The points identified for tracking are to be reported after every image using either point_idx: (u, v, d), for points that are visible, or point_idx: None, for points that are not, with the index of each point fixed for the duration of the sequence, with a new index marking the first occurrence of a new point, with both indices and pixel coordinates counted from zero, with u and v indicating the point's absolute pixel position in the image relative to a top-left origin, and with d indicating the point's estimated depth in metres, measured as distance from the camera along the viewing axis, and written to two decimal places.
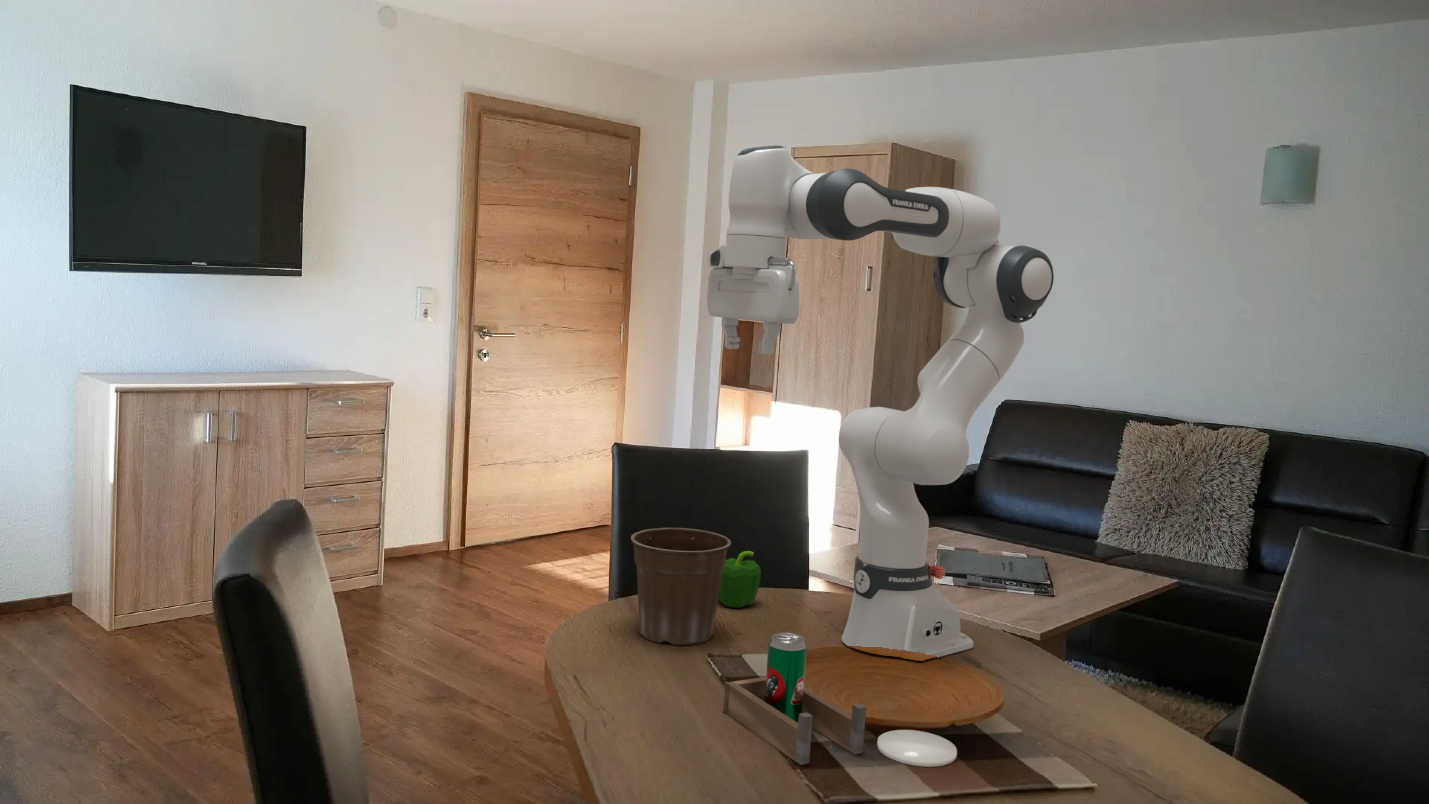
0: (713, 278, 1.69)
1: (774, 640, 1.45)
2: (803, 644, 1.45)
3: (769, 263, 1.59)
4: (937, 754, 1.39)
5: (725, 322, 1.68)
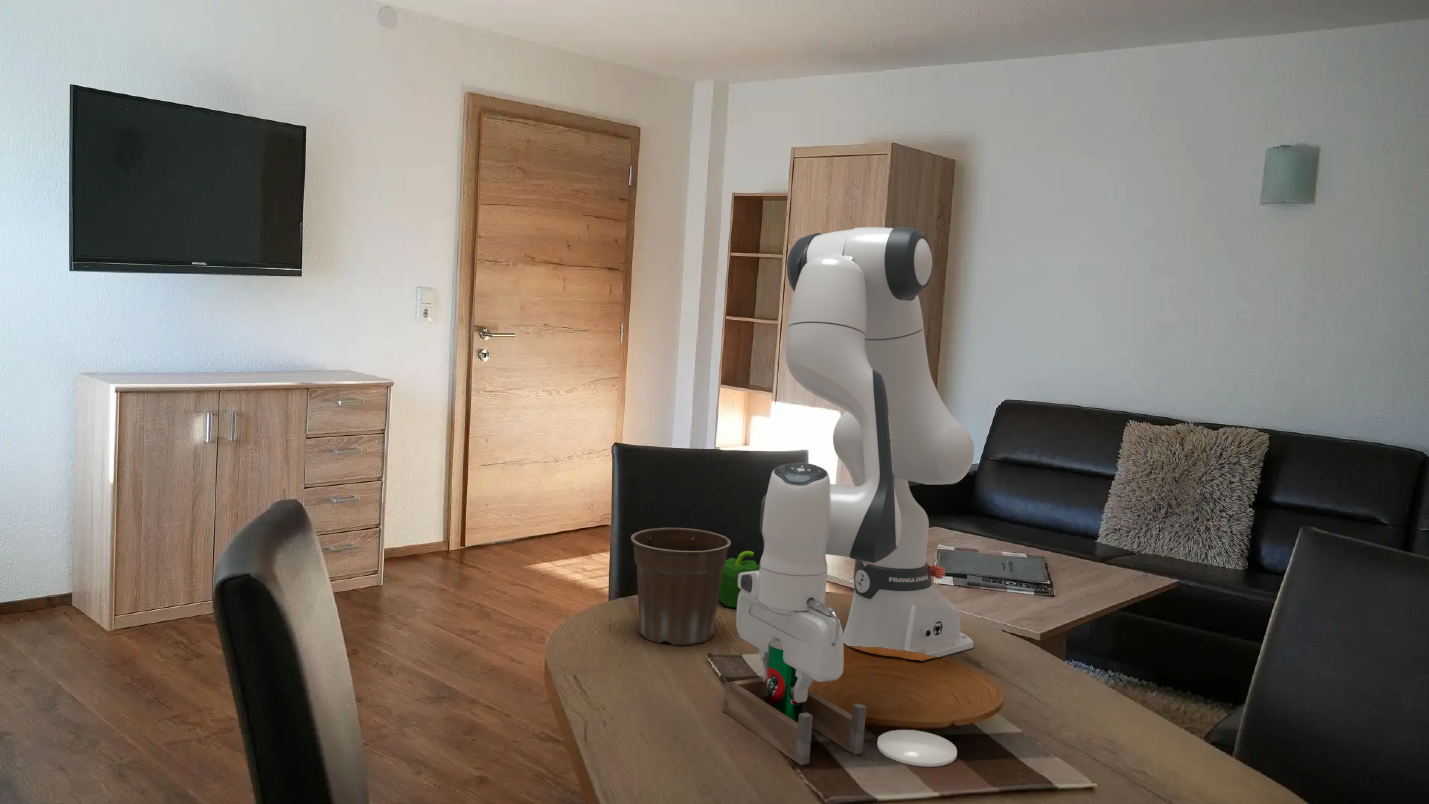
0: (743, 600, 1.51)
1: (774, 640, 1.45)
2: None
3: (809, 606, 1.41)
4: (937, 754, 1.39)
5: (763, 654, 1.49)
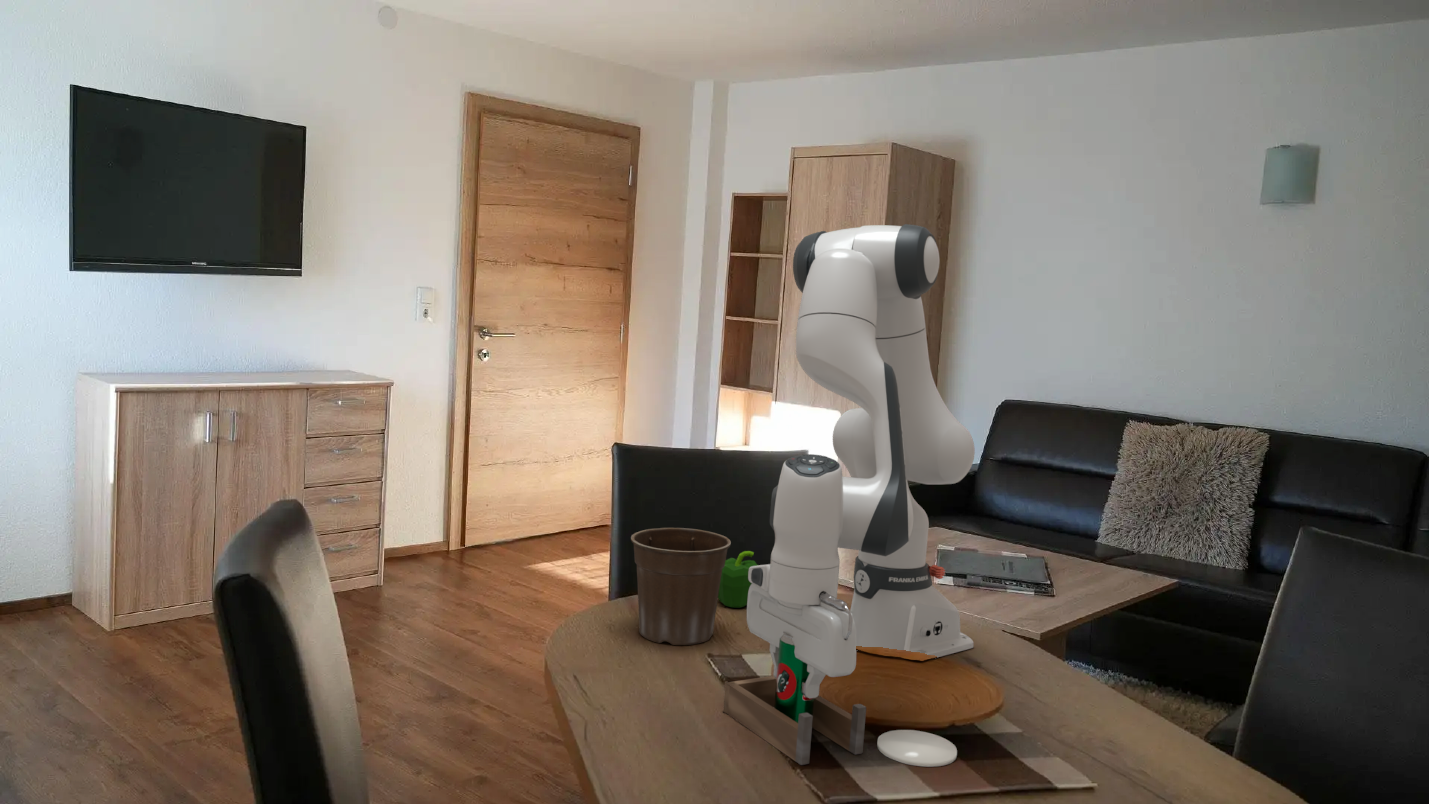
0: (754, 594, 1.48)
1: (785, 635, 1.42)
2: None
3: (821, 600, 1.38)
4: (937, 754, 1.39)
5: (774, 649, 1.46)
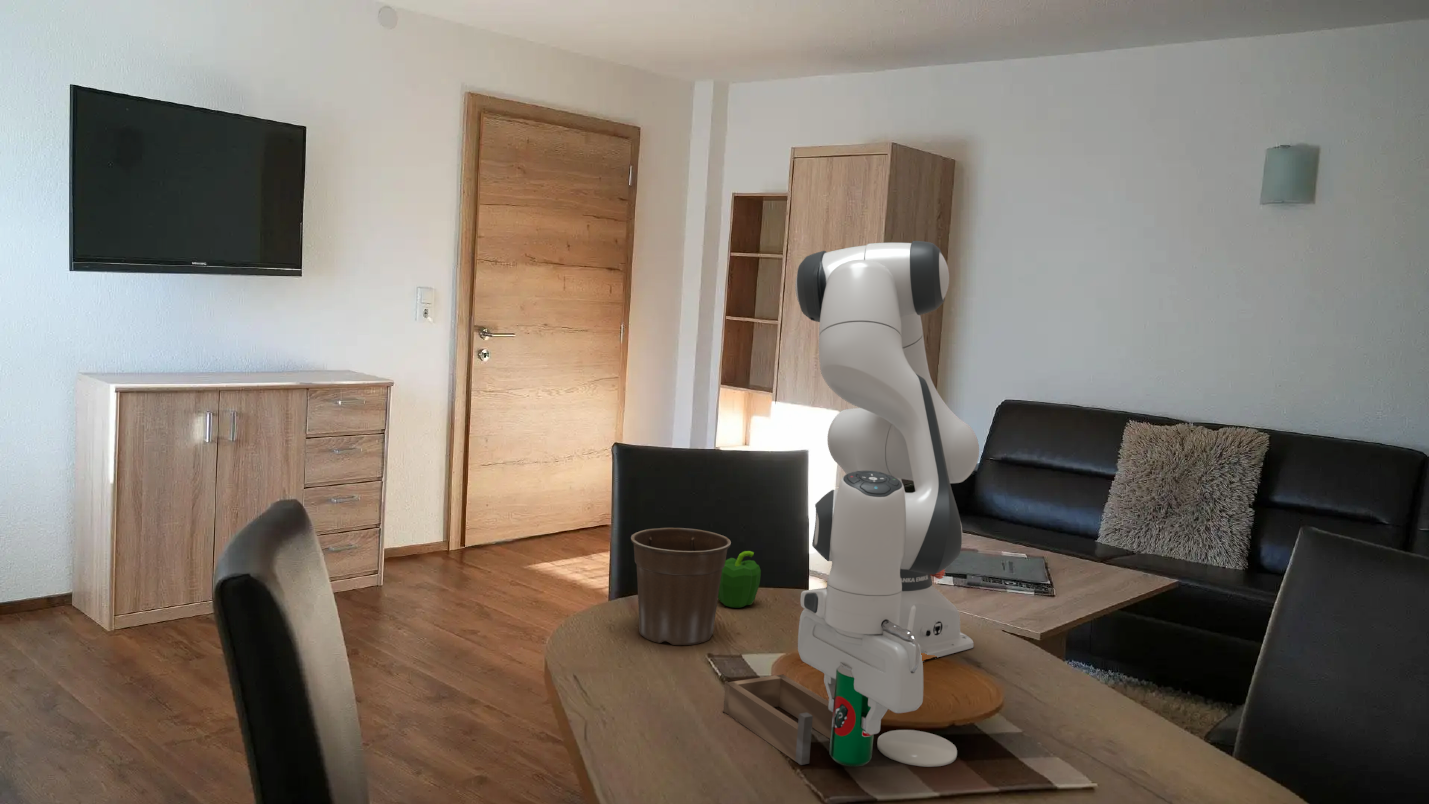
0: (807, 620, 1.38)
1: (843, 666, 1.32)
2: None
3: (883, 628, 1.28)
4: (937, 754, 1.39)
5: (829, 680, 1.36)
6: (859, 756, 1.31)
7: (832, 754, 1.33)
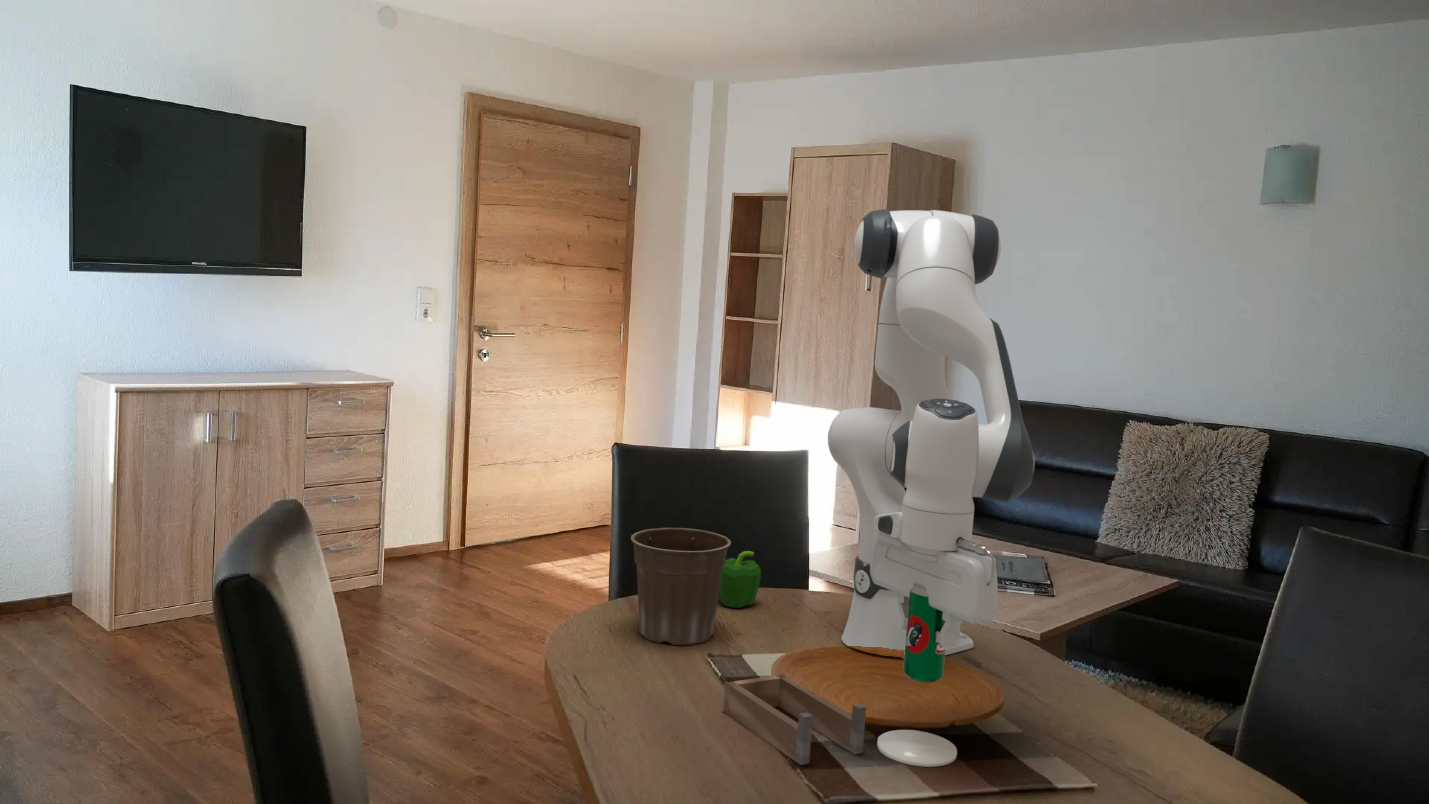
0: (880, 543, 1.45)
1: (917, 587, 1.39)
2: None
3: (958, 545, 1.35)
4: (937, 754, 1.39)
5: (902, 599, 1.43)
6: (933, 672, 1.38)
7: (906, 671, 1.40)
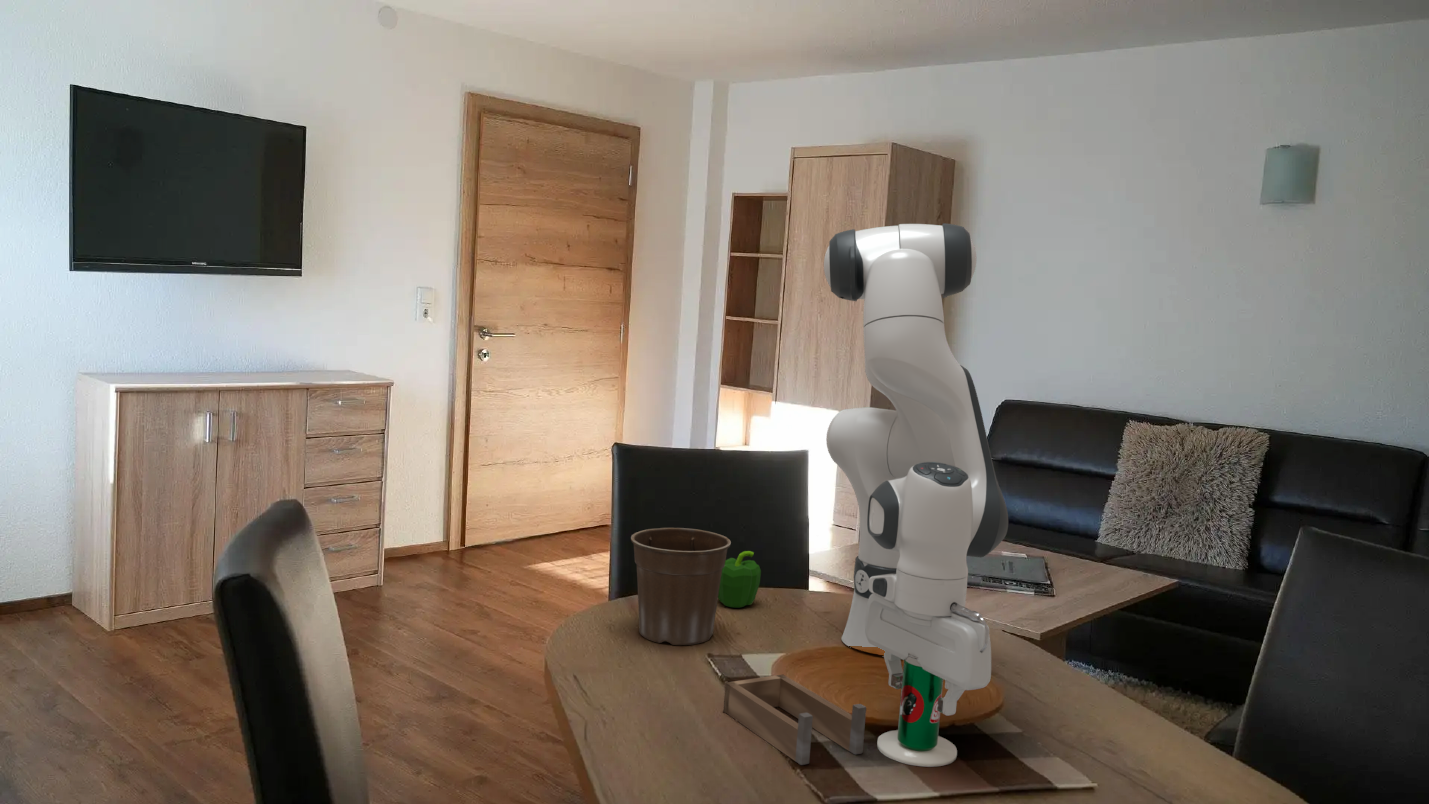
0: (874, 604, 1.46)
1: (911, 656, 1.40)
2: None
3: (952, 611, 1.36)
4: (937, 754, 1.39)
5: (889, 657, 1.45)
6: (927, 741, 1.39)
7: (901, 740, 1.41)
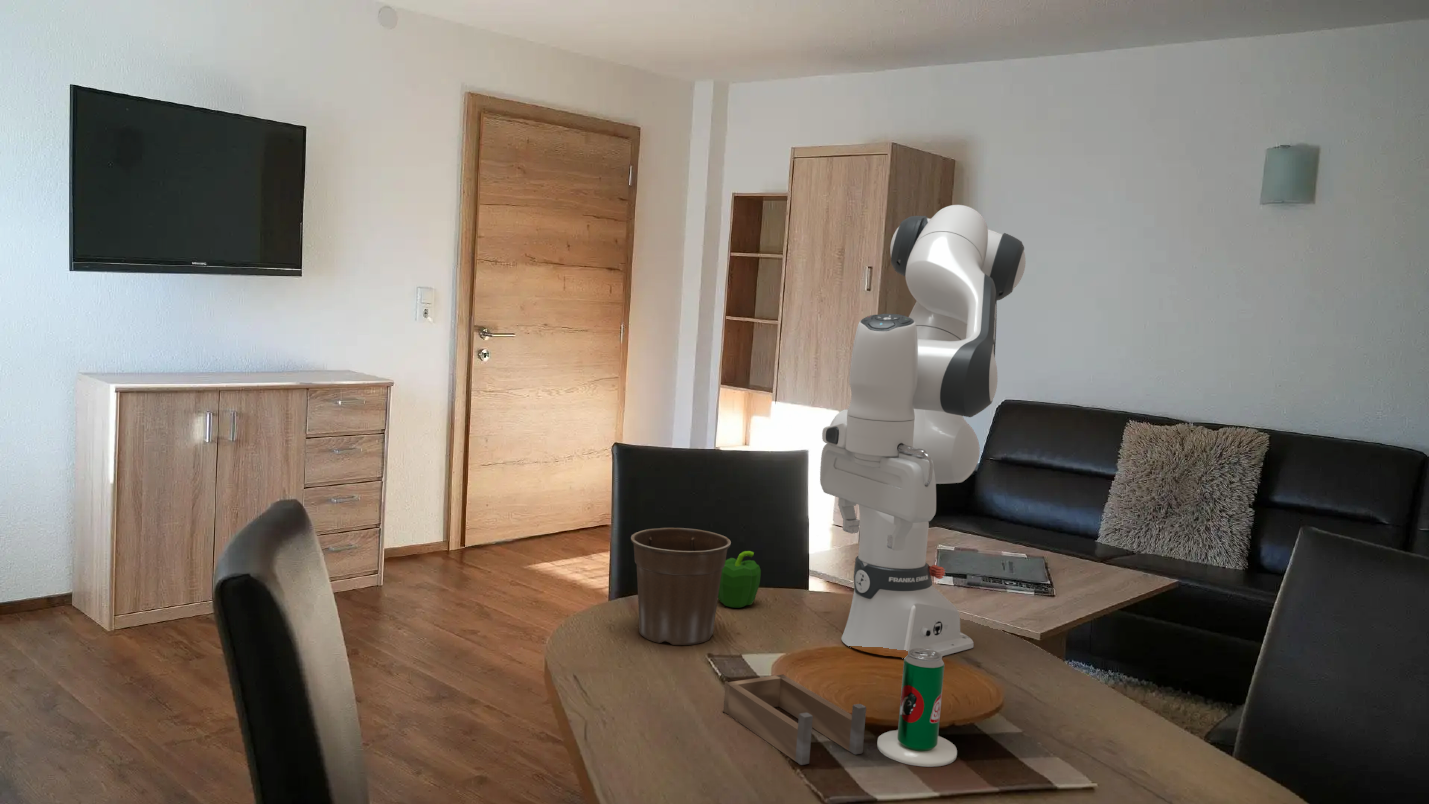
0: (828, 454, 1.52)
1: (911, 656, 1.40)
2: (941, 660, 1.40)
3: (899, 451, 1.42)
4: (937, 754, 1.39)
5: (843, 503, 1.52)
6: (927, 741, 1.39)
7: (901, 740, 1.41)
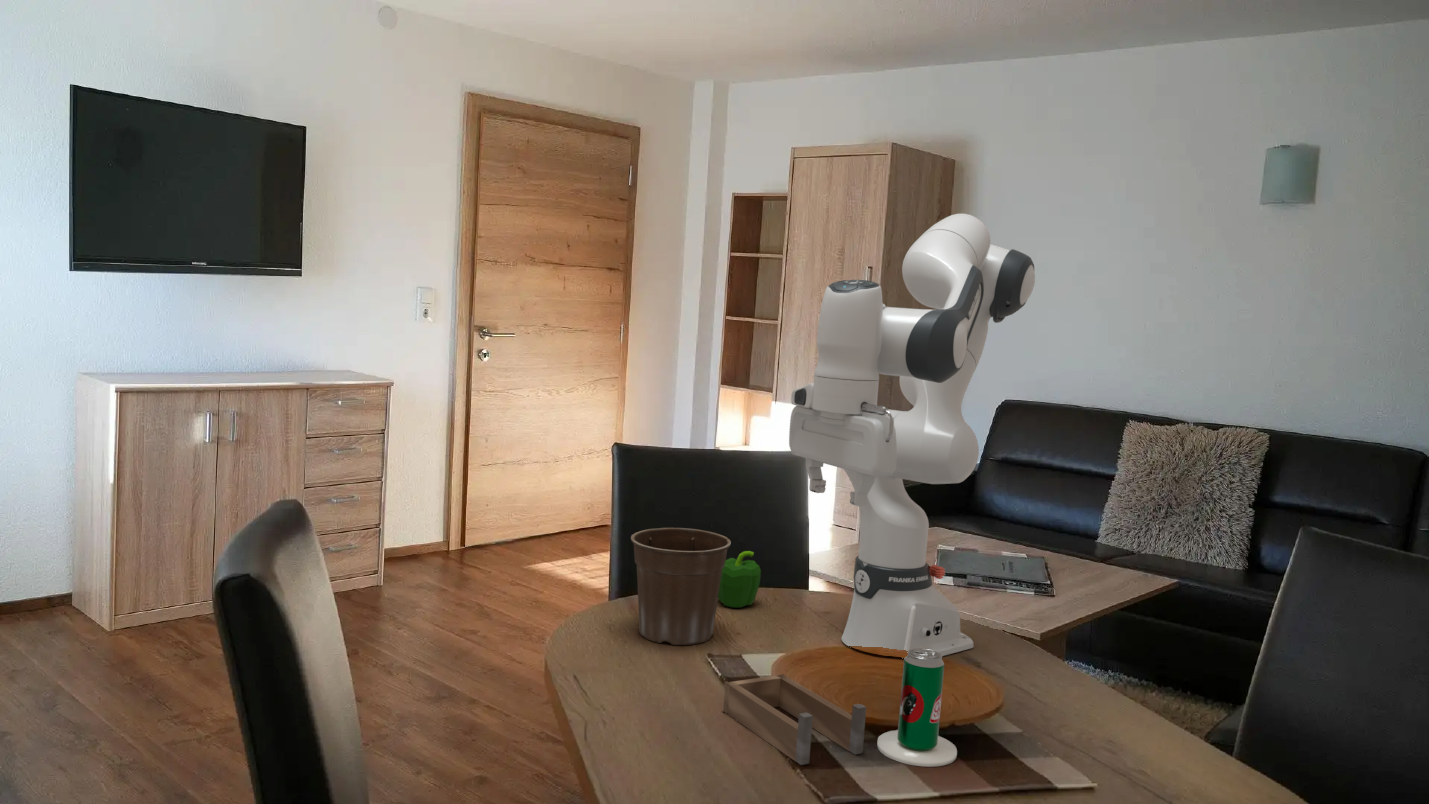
0: (797, 416, 1.58)
1: (911, 656, 1.40)
2: (941, 660, 1.40)
3: (862, 409, 1.48)
4: (937, 754, 1.39)
5: (810, 464, 1.57)
6: (927, 741, 1.39)
7: (901, 740, 1.41)
